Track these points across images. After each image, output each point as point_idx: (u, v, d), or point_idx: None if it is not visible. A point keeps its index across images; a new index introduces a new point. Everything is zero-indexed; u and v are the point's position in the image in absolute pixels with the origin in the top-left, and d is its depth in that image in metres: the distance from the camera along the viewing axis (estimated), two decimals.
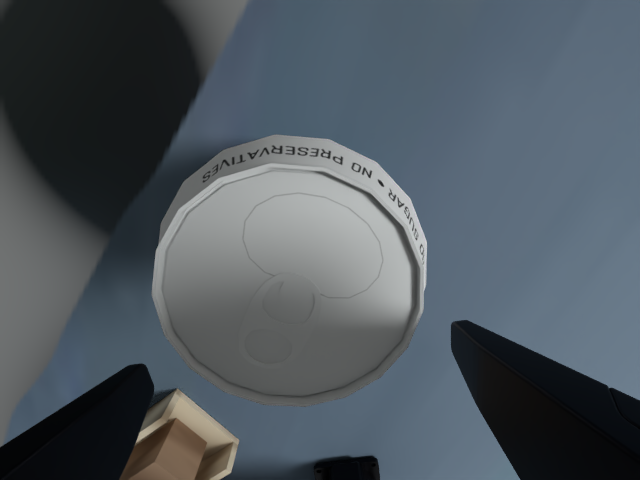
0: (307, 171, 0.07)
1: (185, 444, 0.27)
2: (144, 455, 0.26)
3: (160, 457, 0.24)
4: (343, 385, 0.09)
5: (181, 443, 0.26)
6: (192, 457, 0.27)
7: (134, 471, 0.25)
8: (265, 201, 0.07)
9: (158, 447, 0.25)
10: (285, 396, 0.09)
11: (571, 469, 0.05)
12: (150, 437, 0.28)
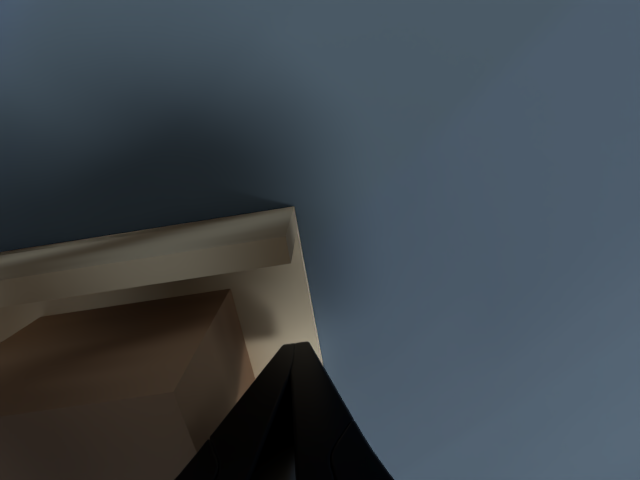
0: None
1: (234, 372, 0.08)
2: (98, 348, 0.07)
3: (188, 384, 0.06)
4: None
5: (229, 364, 0.08)
6: None
7: (44, 390, 0.06)
8: None
9: (176, 343, 0.07)
10: None
11: None
12: (121, 309, 0.09)
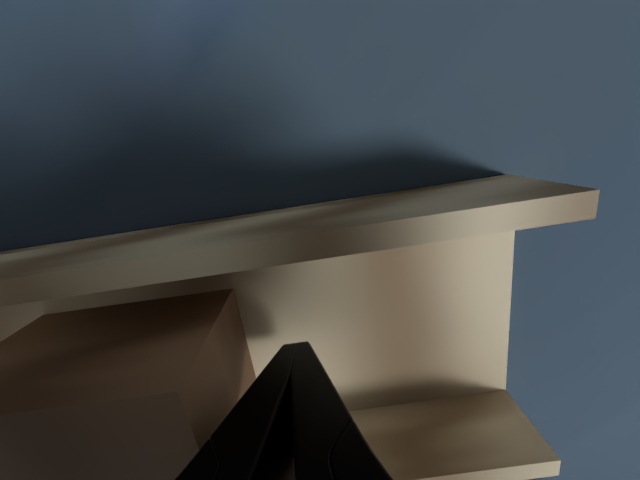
0: None
1: (236, 372, 0.08)
2: (102, 347, 0.07)
3: (192, 383, 0.06)
4: None
5: (231, 364, 0.08)
6: None
7: (49, 388, 0.06)
8: None
9: (179, 343, 0.07)
10: None
11: None
12: (124, 308, 0.09)
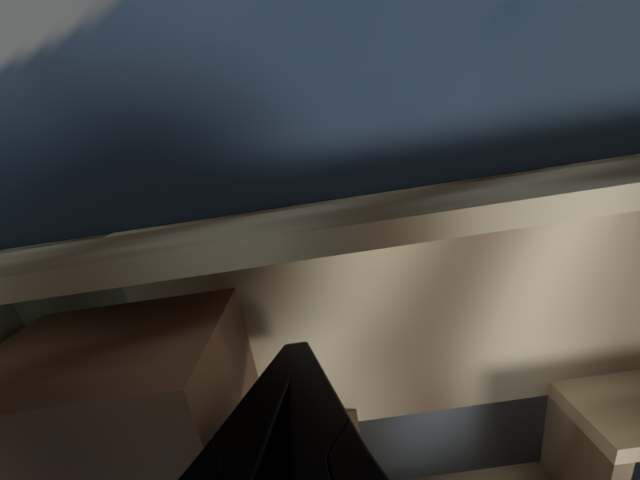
0: None
1: (239, 371, 0.08)
2: (105, 346, 0.07)
3: (197, 382, 0.06)
4: None
5: (234, 363, 0.08)
6: None
7: (53, 388, 0.06)
8: None
9: (183, 342, 0.07)
10: None
11: None
12: (126, 307, 0.09)
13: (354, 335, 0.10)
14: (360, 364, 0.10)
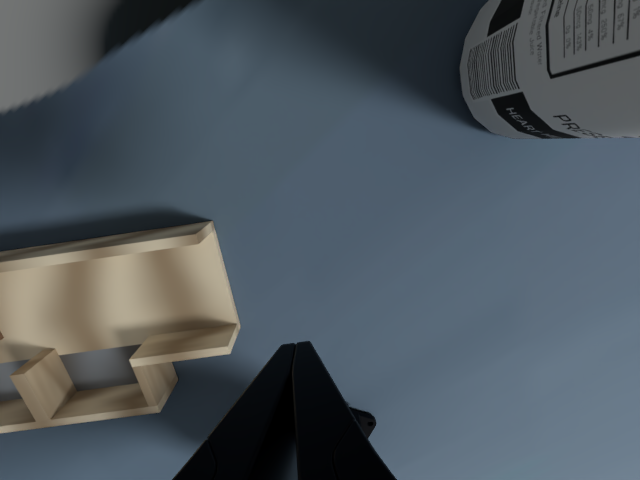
0: None
1: None
2: None
3: None
4: None
5: None
6: None
7: None
8: None
9: None
10: None
11: None
12: None
13: (40, 311, 0.21)
14: (48, 325, 0.21)
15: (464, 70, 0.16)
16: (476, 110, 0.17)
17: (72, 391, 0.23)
